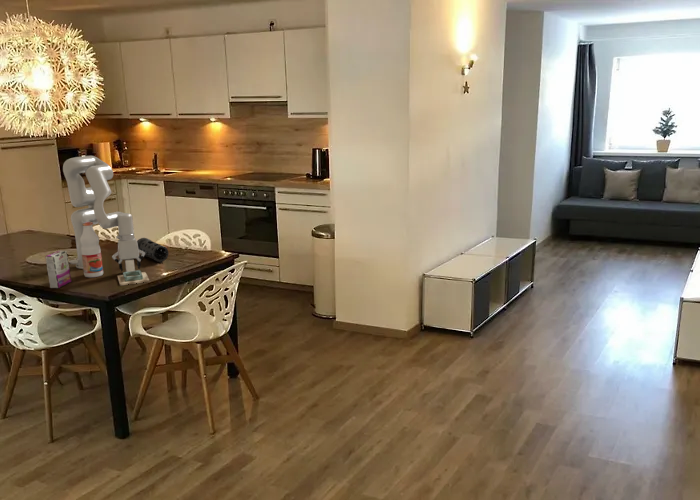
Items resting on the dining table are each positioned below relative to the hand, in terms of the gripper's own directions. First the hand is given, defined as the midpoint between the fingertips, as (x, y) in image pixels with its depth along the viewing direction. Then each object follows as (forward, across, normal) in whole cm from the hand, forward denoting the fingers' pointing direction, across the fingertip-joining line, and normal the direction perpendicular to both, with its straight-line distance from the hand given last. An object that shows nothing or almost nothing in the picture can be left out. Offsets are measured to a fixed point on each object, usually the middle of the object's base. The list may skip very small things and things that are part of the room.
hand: (130, 269), depth 338 cm
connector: (+2, 0, 0) cm, 2 cm away
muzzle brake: (+2, +14, +25) cm, 29 cm away
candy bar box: (+2, -34, -7) cm, 35 cm away
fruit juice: (+2, -18, +4) cm, 19 cm away
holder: (+2, 0, -14) cm, 14 cm away
